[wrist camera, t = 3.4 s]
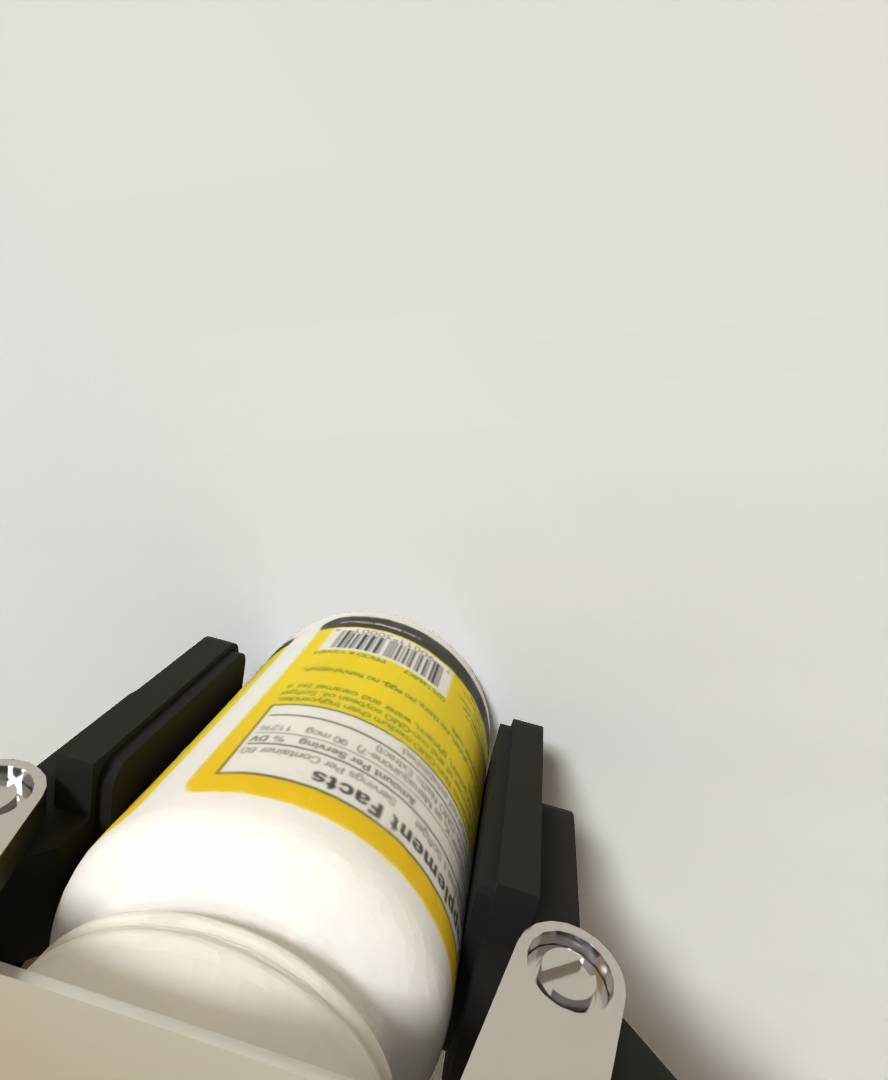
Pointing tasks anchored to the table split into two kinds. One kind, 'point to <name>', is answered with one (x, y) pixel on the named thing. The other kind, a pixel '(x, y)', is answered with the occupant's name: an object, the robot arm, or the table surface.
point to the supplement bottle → (301, 858)
